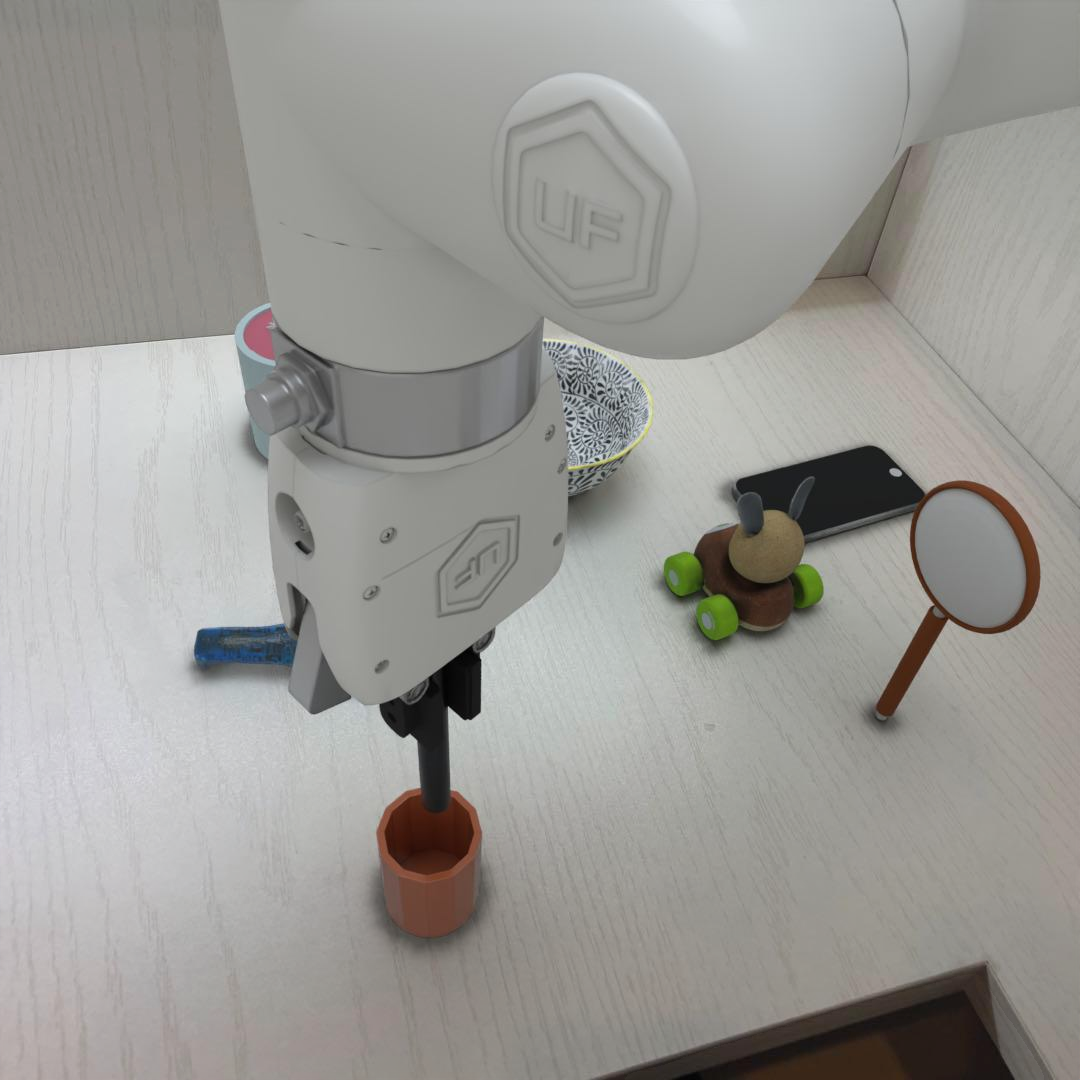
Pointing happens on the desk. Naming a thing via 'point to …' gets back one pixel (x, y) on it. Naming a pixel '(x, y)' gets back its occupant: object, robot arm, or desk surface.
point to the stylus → (436, 759)
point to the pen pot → (430, 863)
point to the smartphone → (837, 490)
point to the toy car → (749, 569)
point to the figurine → (244, 646)
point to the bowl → (598, 411)
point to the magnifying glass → (966, 571)
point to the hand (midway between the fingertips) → (431, 711)
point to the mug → (256, 358)
